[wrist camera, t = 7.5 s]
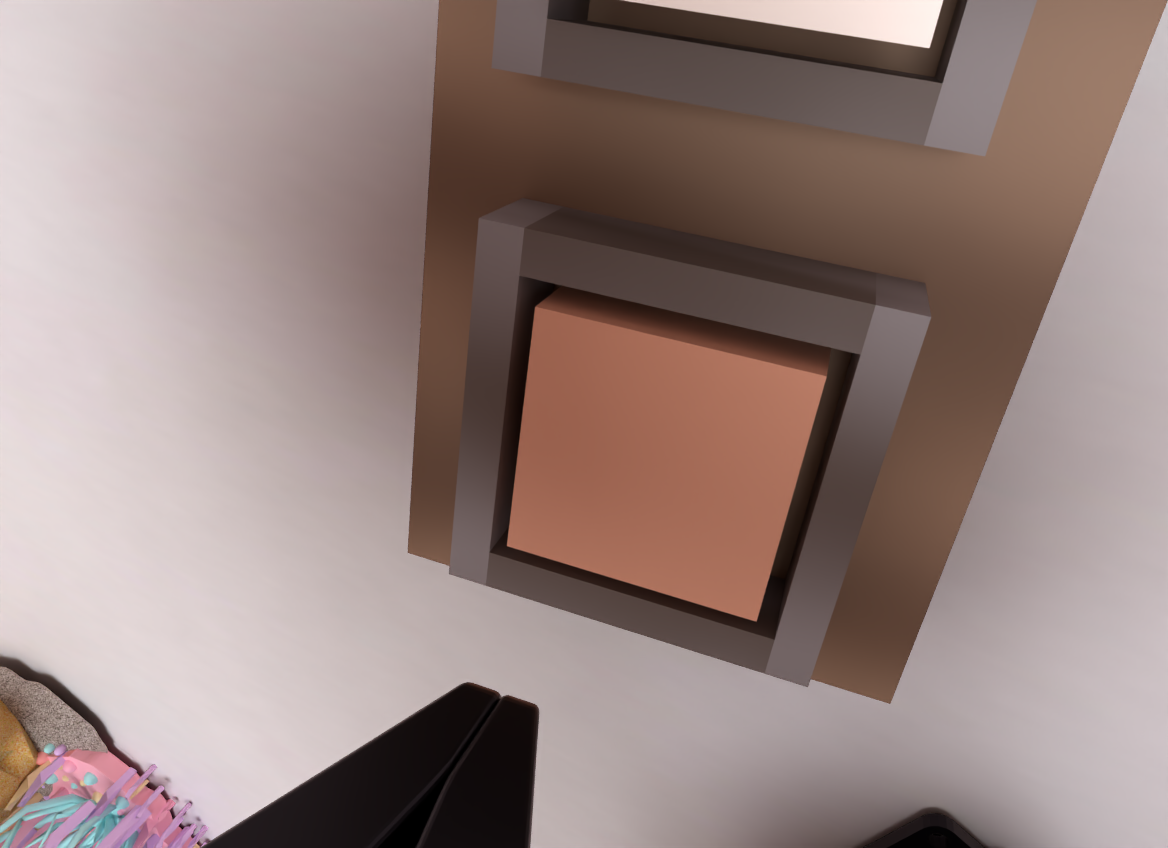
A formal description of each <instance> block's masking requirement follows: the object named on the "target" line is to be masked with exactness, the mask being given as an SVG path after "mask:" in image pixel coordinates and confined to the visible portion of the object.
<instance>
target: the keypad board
mask: <svg viewBox="0 0 1168 848" xmlns="http://www.w3.org/2000/svg"><path fill="white" fill-rule="evenodd" d="M1167 1H1168V0H943V3H942V7H941V10H940V14H939V17H938V20H937V24H936V27H935V31H934V34H933V38H932V41H931V45H930V48H925V47H918V46H912V45H905V44H899V43H893V42H886V41H880V40H873V39H867V38H861V37H854V36H848V35H841V34H835V33H828V32H822V31H816V30H809V29H803V28H796V27H790V26H783V25H777V24H771V23H764V22H758V21H751V20H745V19H739V18H732V17H726V16H719V15H713V14H706V13H700V12H694V11H687V10H681V9H674V8H668V7H661V6H655V5H649V4H642V3H636V2H629V1H623V0H439V12H438V30H437V47H436V65H435V82H434V100H433V118H432V135H431V153H430V170H429V188H428V205H427V223H426V240H425V258H424V275H423V293H422V310H421V328H420V345H419V363H418V380H417V398H416V416H415V433H414V451H413V468H412V486H411V503H410V521H409V538H408V553H410V554H414V555H417V556H420V557H423V558H426V559H430V560H433V561H436V562H439V563H442V564H446V565H449V566H450V568H449V574H451V575H454V576H457V577H460V578H464V579H467V580H470V581H473V582H476V583H479V584H483V585H486V586H489V587H492V588H495V589H498V590H502V591H505V592H508V593H511V594H514V595H517V596H521V597H524V598H527V599H530V600H533V601H536V602H540V603H543V604H546V605H549V606H552V607H555V608H559V609H562V610H565V611H568V612H571V613H574V614H578V615H581V616H584V617H587V618H590V619H593V620H597V621H600V622H603V623H606V624H609V625H612V626H616V627H619V628H622V629H625V630H628V631H631V632H635V633H638V634H641V635H644V636H647V637H651V638H654V639H657V640H660V641H663V642H666V643H670V644H673V645H676V646H679V647H682V648H685V649H689V650H692V651H695V652H698V653H701V654H704V655H708V656H711V657H714V658H717V659H720V660H723V661H727V662H730V663H733V664H736V665H739V666H742V667H746V668H749V669H752V670H755V671H758V672H761V673H765V674H768V675H771V676H774V677H777V678H780V679H784V680H787V681H790V682H793V683H796V684H799V685H803V686H806V687H808V685H809V682H810V679H813V680H816V681H819V682H822V683H825V684H828V685H832V686H835V687H838V688H841V689H844V690H848V691H851V692H854V693H857V694H860V695H864V696H867V697H870V698H873V699H876V700H880V701H883V702H886V703H889V704H890V703H891V700H892V698H893V695H894V693H895V690H896V688H897V685H898V683H899V680H900V678H901V675H902V673H903V670H904V667H905V665H906V662H907V660H908V657H909V655H910V652H911V650H912V647H913V645H914V642H915V640H916V637H917V634H918V632H919V629H920V627H921V624H922V622H923V619H924V617H925V614H926V612H927V609H928V607H929V604H930V602H931V599H932V596H933V594H934V591H935V589H936V586H937V584H938V581H939V579H940V576H941V574H942V571H943V569H944V566H945V563H946V561H947V558H948V556H949V553H950V551H951V548H952V546H953V543H954V541H955V538H956V536H957V533H958V531H959V528H960V525H961V523H962V520H963V518H964V515H965V513H966V510H967V508H968V505H969V503H970V500H971V498H972V495H973V492H974V490H975V487H976V485H977V482H978V480H979V477H980V475H981V472H982V470H983V467H984V465H985V462H986V460H987V457H988V454H989V452H990V449H991V447H992V444H993V442H994V439H995V437H996V434H997V432H998V429H999V427H1000V424H1001V421H1002V419H1003V416H1004V414H1005V411H1006V409H1007V406H1008V404H1009V401H1010V399H1011V396H1012V394H1013V391H1014V389H1015V386H1016V383H1017V381H1018V378H1019V376H1020V373H1021V371H1022V368H1023V366H1024V363H1025V361H1026V358H1027V356H1028V353H1029V350H1030V348H1031V345H1032V343H1033V340H1034V338H1035V335H1036V333H1037V330H1038V328H1039V325H1040V323H1041V320H1042V318H1043V315H1044V312H1045V310H1046V307H1047V305H1048V302H1049V300H1050V297H1051V295H1052V292H1053V290H1054V287H1055V285H1056V282H1057V280H1058V277H1059V274H1060V272H1061V269H1062V267H1063V264H1064V262H1065V259H1066V257H1067V254H1068V252H1069V249H1070V247H1071V244H1072V241H1073V239H1074V236H1075V234H1076V231H1077V229H1078V226H1079V224H1080V221H1081V219H1082V216H1083V214H1084V211H1085V209H1086V206H1087V203H1088V201H1089V198H1090V196H1091V193H1092V191H1093V188H1094V186H1095V183H1096V181H1097V178H1098V176H1099V173H1100V170H1101V168H1102V165H1103V163H1104V160H1105V158H1106V155H1107V153H1108V150H1109V148H1110V145H1111V143H1112V140H1113V138H1114V135H1115V132H1116V130H1117V127H1118V125H1119V122H1120V120H1121V117H1122V115H1123V112H1124V110H1125V107H1126V105H1127V102H1128V99H1129V97H1130V94H1131V92H1132V89H1133V87H1134V84H1135V82H1136V79H1137V77H1138V74H1139V72H1140V69H1141V67H1142V64H1143V61H1144V59H1145V56H1146V54H1147V51H1148V49H1149V46H1150V44H1151V41H1152V39H1153V36H1154V34H1155V31H1156V28H1157V26H1158V23H1159V21H1160V18H1161V16H1162V13H1163V11H1164V8H1165V6H1166V3H1167ZM561 286H566V287H571V288H575V289H579V290H584V291H588V292H592V293H597V294H601V295H605V296H610V297H614V298H618V299H622V300H627V301H631V302H635V303H640V304H644V305H648V306H653V307H657V308H661V309H666V310H670V311H674V312H679V313H683V314H687V315H692V316H696V317H700V318H704V319H709V320H713V321H717V322H722V323H726V324H730V325H735V326H739V327H743V328H748V329H752V330H756V331H761V332H765V333H769V334H773V335H778V336H782V337H786V338H791V339H795V340H799V341H804V342H808V343H812V344H817V345H821V346H825V347H830V348H831V353H830V359H829V366H828V372H827V377H826V381H825V384H824V388H823V391H822V395H821V398H820V402H819V405H818V409H817V412H816V416H815V419H814V423H813V426H812V430H811V433H810V437H809V440H808V444H807V447H806V451H805V454H804V458H803V461H802V465H801V468H800V472H799V475H798V479H797V482H796V486H795V489H794V493H793V496H792V500H791V503H790V507H789V510H788V514H787V517H786V521H785V524H784V528H783V531H782V534H781V538H780V541H779V545H778V548H777V552H776V555H775V559H774V562H773V566H772V569H771V573H770V576H769V580H768V583H767V587H766V590H765V594H764V597H763V601H762V604H761V608H760V611H759V615H758V618H757V622H756V621H752V620H749V619H746V618H742V617H739V616H736V615H732V614H729V613H726V612H723V611H719V610H716V609H713V608H709V607H706V606H703V605H700V604H696V603H693V602H690V601H686V600H683V599H680V598H676V597H673V596H670V595H667V594H663V593H660V592H657V591H653V590H650V589H647V588H644V587H640V586H637V585H634V584H630V583H627V582H624V581H620V580H617V579H614V578H611V577H607V576H604V575H601V574H597V573H594V572H591V571H587V570H584V569H581V568H578V567H574V566H571V565H568V564H564V563H561V562H558V561H555V560H551V559H548V558H545V557H541V556H538V555H535V554H531V553H528V552H525V551H522V550H518V549H515V548H512V547H508V546H507V541H508V532H509V524H510V515H511V507H512V499H513V490H514V482H515V473H516V465H517V456H518V448H519V439H520V431H521V422H522V414H523V406H524V397H525V389H526V380H527V372H528V363H529V355H530V346H531V338H532V329H533V321H534V313H535V307H536V306H537V305H538V304H539V303H541V302H542V301H543V300H544V299H546V298H547V297H548V296H550V295H551V294H552V293H553V292H555V291H556V290H557V289H558V288H560V287H561Z"/></svg>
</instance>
